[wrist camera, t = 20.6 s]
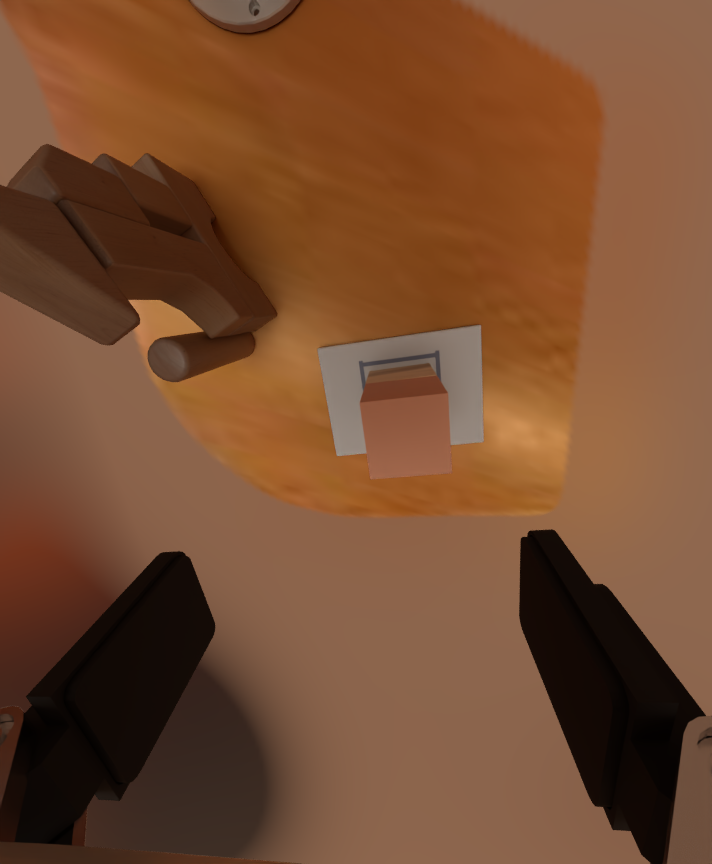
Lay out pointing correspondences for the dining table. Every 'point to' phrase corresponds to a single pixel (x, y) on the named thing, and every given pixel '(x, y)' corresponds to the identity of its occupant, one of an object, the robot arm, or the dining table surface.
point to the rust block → (406, 427)
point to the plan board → (444, 349)
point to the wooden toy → (125, 257)
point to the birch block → (400, 373)
